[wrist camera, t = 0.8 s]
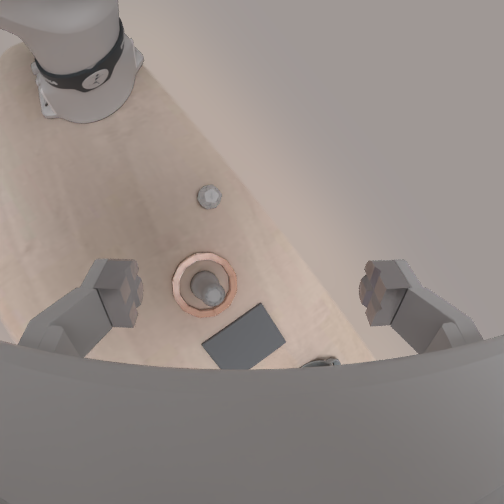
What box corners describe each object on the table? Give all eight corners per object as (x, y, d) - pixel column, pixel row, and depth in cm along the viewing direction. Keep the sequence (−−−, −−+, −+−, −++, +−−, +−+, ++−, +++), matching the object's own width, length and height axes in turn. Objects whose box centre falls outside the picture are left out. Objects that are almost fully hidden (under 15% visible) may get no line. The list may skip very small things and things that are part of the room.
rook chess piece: (184, 286, 46) (191, 298, 38) (202, 264, 46) (213, 272, 39) (205, 304, 47) (216, 319, 40) (223, 282, 48) (237, 293, 40)
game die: (220, 187, 46) (225, 185, 43) (217, 211, 46) (221, 210, 44) (198, 184, 45) (201, 181, 42) (194, 207, 45) (197, 206, 42)
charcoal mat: (201, 344, 47) (202, 345, 47) (260, 302, 50) (261, 303, 50) (230, 380, 50) (231, 381, 49) (284, 340, 52) (286, 342, 52)
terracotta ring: (159, 276, 44) (160, 277, 43) (213, 240, 47) (214, 240, 46) (195, 326, 47) (196, 329, 46) (246, 291, 49) (248, 293, 48)
